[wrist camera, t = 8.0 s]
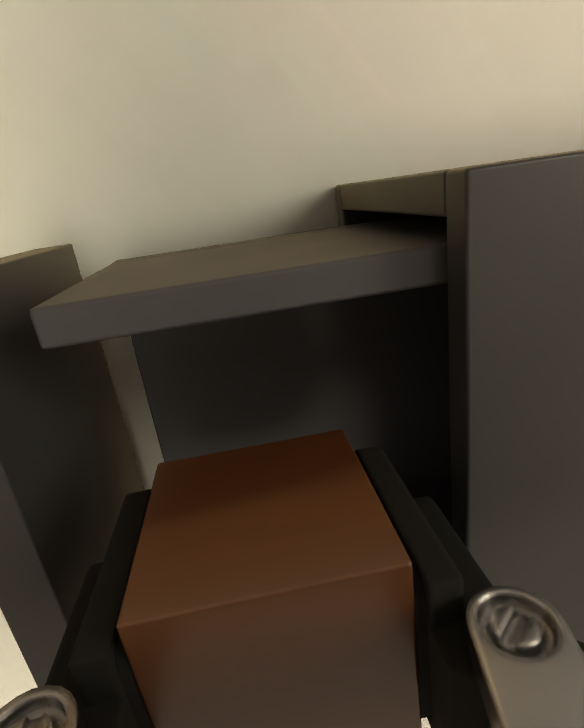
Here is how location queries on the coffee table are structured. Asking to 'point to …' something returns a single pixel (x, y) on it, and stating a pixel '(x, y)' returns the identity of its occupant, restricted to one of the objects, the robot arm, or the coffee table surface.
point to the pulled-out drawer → (207, 381)
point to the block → (271, 594)
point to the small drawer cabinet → (510, 360)
